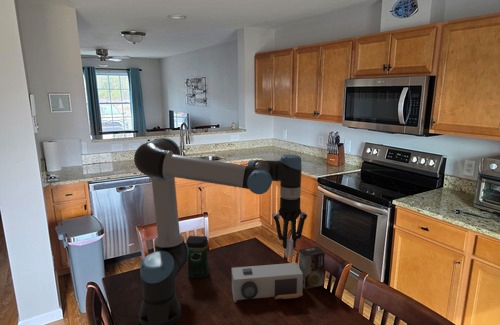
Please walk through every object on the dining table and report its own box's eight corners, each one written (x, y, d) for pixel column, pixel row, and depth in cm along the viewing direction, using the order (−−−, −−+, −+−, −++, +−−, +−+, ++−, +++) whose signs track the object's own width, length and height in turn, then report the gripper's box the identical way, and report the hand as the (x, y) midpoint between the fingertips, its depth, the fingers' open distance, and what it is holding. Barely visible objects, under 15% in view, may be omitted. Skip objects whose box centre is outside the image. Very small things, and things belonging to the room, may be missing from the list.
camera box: (234, 306, 130) (234, 280, 128) (231, 289, 141) (231, 265, 138) (303, 299, 134) (304, 274, 132) (295, 283, 145) (296, 260, 143)
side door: (274, 301, 133) (278, 299, 126) (274, 297, 133) (278, 295, 126) (298, 299, 134) (303, 296, 127) (297, 295, 135) (302, 292, 128)
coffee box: (316, 279, 148) (317, 245, 145) (323, 287, 142) (325, 252, 139) (297, 283, 145) (298, 248, 142) (304, 291, 139) (305, 255, 136)
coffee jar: (210, 270, 156) (209, 233, 152) (207, 279, 148) (205, 241, 144) (190, 269, 157) (188, 232, 153) (185, 278, 149) (184, 240, 145)
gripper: (273, 200, 118) (273, 261, 123) (311, 199, 120) (309, 258, 125) (269, 194, 125) (268, 252, 130) (305, 192, 127) (303, 249, 132)
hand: (288, 255), depth 127 cm, fingers closed
